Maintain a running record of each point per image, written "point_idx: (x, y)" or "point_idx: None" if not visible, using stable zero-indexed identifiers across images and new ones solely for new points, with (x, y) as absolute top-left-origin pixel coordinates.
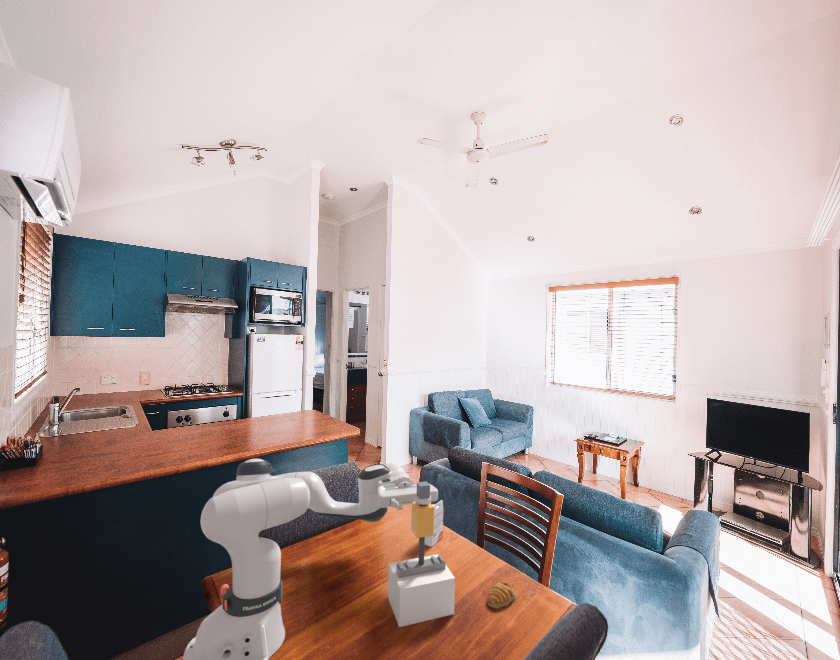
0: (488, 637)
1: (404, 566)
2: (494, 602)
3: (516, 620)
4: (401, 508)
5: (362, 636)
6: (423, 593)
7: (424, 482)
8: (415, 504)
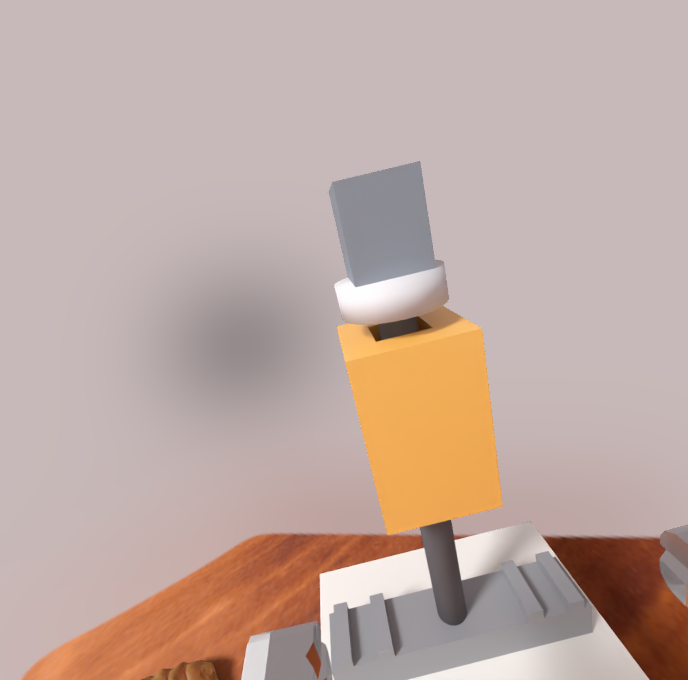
0: (294, 569)
1: (538, 588)
2: (205, 663)
3: (192, 619)
4: (670, 559)
5: (653, 586)
6: None
7: (355, 178)
8: (450, 319)
